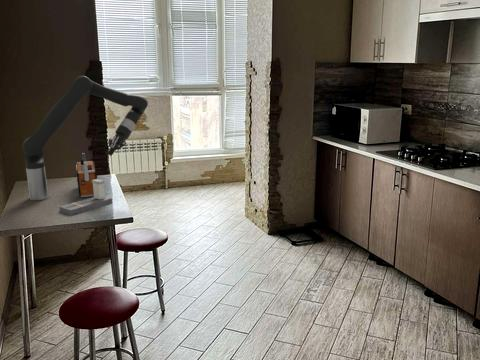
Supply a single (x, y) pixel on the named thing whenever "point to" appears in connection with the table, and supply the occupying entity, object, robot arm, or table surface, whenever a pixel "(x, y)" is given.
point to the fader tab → (98, 189)
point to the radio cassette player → (85, 177)
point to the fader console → (84, 205)
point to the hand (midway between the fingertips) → (109, 154)
